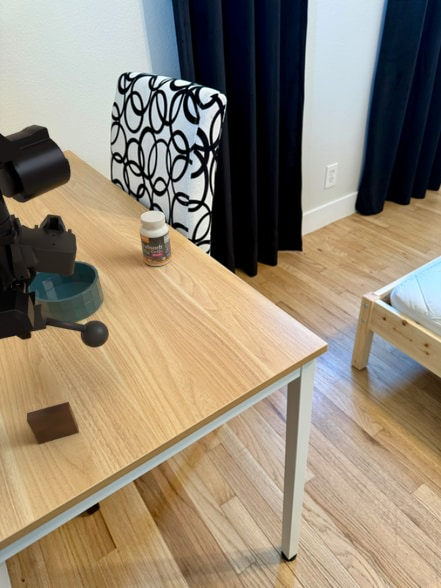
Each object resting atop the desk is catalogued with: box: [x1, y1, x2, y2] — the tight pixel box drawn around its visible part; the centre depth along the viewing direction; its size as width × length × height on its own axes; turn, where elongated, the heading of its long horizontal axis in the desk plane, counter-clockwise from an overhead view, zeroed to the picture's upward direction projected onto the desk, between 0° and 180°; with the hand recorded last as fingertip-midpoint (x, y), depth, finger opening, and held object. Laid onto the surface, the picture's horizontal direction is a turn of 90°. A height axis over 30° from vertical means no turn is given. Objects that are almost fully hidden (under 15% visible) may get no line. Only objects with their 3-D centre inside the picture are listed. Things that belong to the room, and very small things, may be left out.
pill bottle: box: [139, 210, 172, 267], centre depth 85 cm, size 6×6×10 cm
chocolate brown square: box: [26, 401, 80, 445], centre depth 54 cm, size 5×1×5 cm, turn 109°
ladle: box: [31, 304, 110, 349], centre depth 55 cm, size 12×4×8 cm, turn 107°
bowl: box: [29, 260, 104, 323], centre depth 76 cm, size 12×12×5 cm
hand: (27, 332), depth 53 cm, fingers closed on ladle, 2 cm apart
